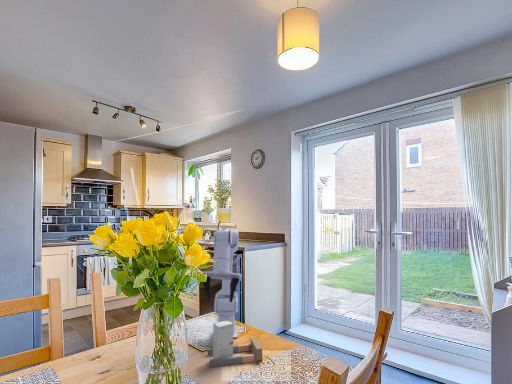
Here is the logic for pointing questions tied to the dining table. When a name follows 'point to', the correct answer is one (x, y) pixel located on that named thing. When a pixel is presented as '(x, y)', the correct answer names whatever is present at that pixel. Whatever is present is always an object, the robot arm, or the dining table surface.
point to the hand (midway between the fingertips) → (219, 300)
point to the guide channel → (252, 347)
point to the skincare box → (222, 339)
